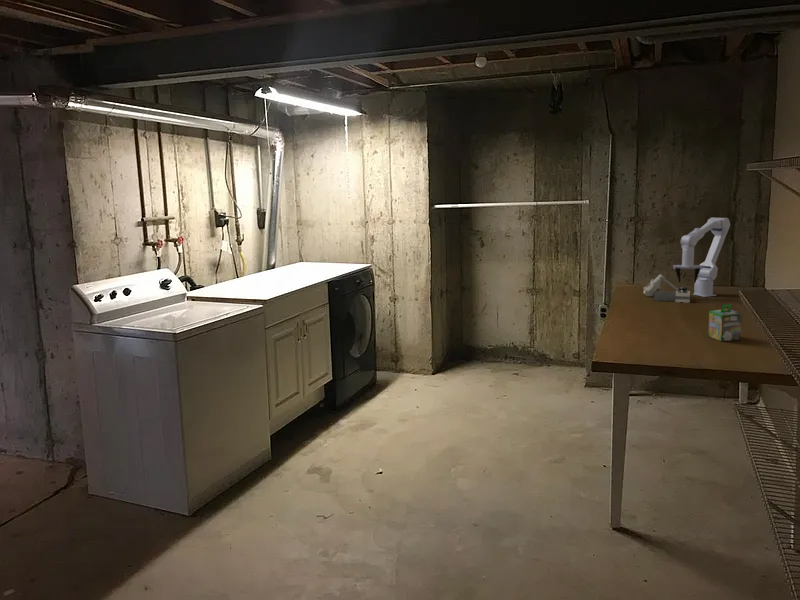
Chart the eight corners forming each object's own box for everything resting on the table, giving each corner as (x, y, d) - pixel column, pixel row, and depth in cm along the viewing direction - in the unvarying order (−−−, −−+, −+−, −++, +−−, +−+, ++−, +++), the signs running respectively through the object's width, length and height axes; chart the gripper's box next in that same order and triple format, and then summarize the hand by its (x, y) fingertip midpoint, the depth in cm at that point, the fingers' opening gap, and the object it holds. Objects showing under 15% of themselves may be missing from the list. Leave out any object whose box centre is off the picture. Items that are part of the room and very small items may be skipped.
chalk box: (726, 335, 273) (728, 301, 271) (741, 340, 264) (743, 305, 262) (707, 336, 272) (708, 302, 269) (721, 342, 263) (722, 306, 260)
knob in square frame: (654, 295, 364) (655, 286, 363) (689, 296, 357) (689, 287, 356) (653, 301, 348) (653, 292, 347) (689, 302, 341) (690, 293, 340)
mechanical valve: (641, 289, 370) (659, 270, 365) (665, 308, 370) (684, 289, 364) (643, 294, 360) (662, 274, 355) (668, 313, 360) (687, 294, 355)
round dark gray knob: (678, 301, 346) (678, 287, 345) (683, 300, 347) (684, 286, 346) (682, 302, 343) (683, 288, 341) (688, 301, 344) (689, 287, 342)
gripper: (673, 258, 346) (672, 283, 348) (703, 258, 340) (702, 283, 342) (673, 256, 352) (672, 280, 355) (702, 256, 346) (701, 281, 349)
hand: (687, 282), depth 349 cm, fingers open, 7 cm apart
